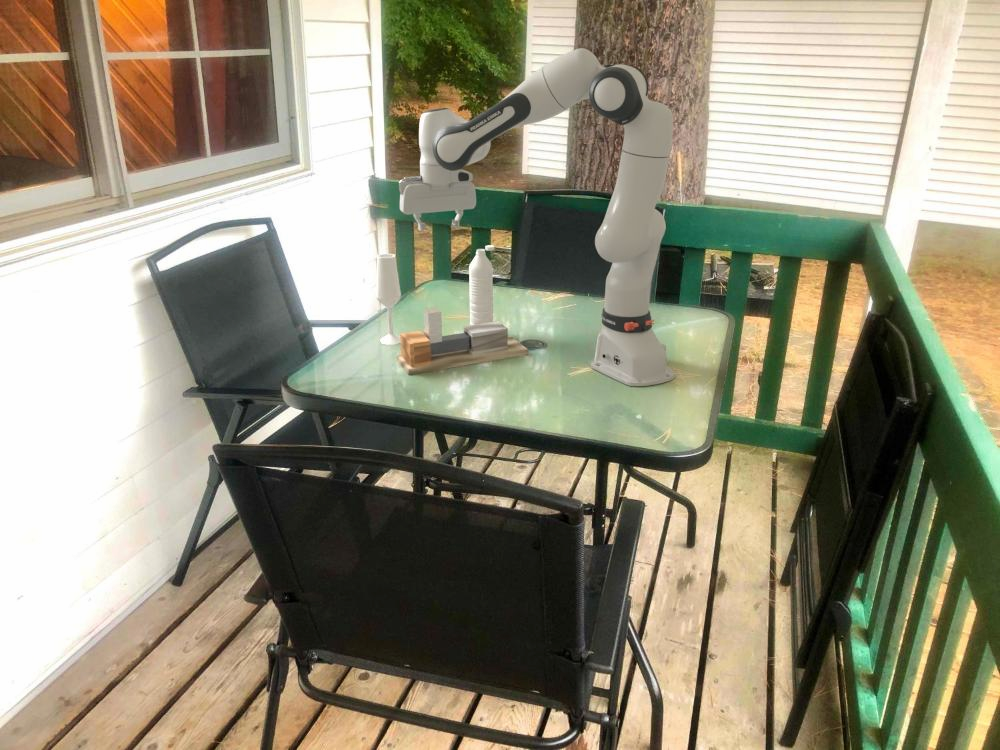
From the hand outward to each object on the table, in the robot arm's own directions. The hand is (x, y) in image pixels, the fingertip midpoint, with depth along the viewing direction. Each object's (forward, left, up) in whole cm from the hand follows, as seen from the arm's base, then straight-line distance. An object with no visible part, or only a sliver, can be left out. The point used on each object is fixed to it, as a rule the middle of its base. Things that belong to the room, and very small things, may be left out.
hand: (439, 228), depth 202 cm
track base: (-15, 0, -31) cm, 35 cm away
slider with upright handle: (-15, +2, -28) cm, 32 cm away
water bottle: (-2, -12, -31) cm, 33 cm away
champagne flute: (+5, +13, -31) cm, 34 cm away
